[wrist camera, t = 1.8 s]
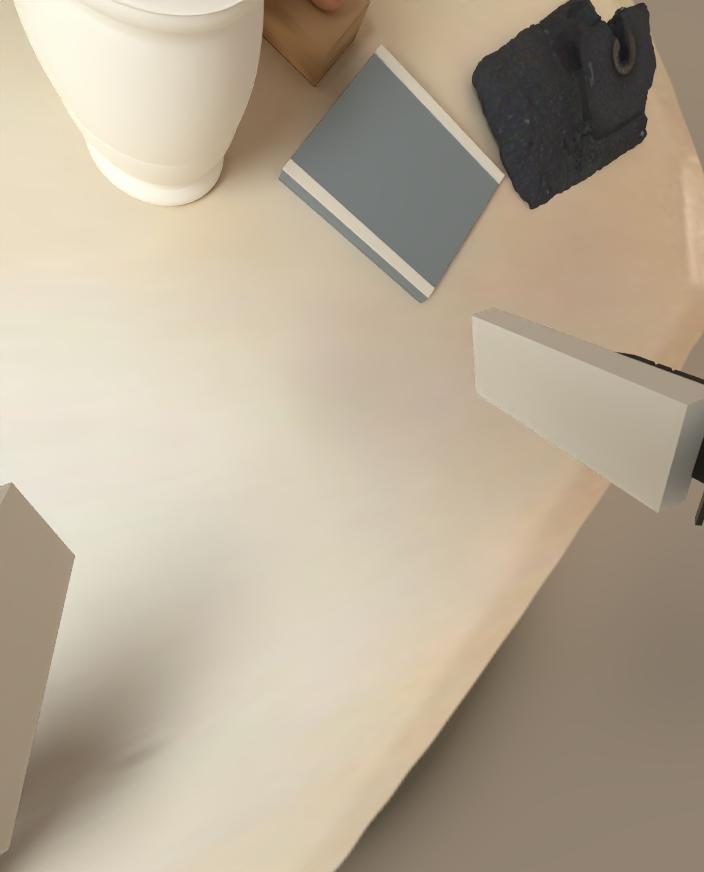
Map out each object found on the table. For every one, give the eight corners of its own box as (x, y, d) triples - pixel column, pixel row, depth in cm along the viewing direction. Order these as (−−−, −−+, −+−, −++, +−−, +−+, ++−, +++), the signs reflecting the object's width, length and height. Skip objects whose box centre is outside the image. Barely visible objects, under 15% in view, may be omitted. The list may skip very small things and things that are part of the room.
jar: (210, 251, 30) (233, 72, 16) (38, 174, 26) (-129, -146, 12) (257, 119, 31) (318, -152, 17) (101, 30, 28) (17, -402, 14)
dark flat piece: (438, 64, 38) (472, 12, 33) (586, -2, 44) (631, -52, 40) (522, 224, 40) (564, 196, 36) (649, 138, 47) (697, 106, 43)
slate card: (278, 179, 31) (282, 168, 30) (374, 57, 35) (381, 43, 33) (420, 303, 35) (428, 297, 34) (494, 184, 39) (504, 175, 37)
